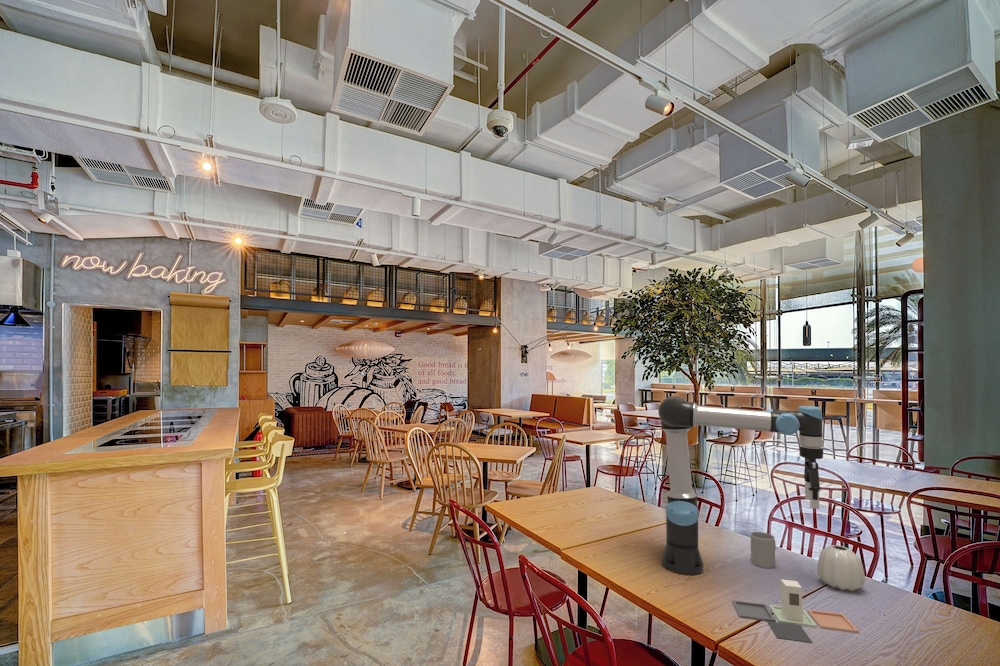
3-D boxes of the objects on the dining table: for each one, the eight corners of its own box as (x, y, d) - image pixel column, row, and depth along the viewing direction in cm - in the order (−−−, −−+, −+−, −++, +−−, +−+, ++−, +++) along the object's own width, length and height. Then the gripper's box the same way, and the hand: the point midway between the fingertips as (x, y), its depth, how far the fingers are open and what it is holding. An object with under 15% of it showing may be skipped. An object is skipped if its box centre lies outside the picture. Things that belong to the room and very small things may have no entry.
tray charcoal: (739, 618, 147) (739, 615, 147) (732, 603, 156) (732, 600, 156) (775, 623, 144) (775, 620, 144) (765, 607, 154) (765, 604, 154)
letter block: (786, 619, 146) (785, 585, 147) (781, 612, 150) (780, 579, 151) (802, 621, 145) (802, 587, 146) (797, 614, 149) (796, 581, 150)
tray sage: (779, 624, 144) (779, 620, 144) (769, 607, 154) (769, 604, 154) (816, 628, 142) (816, 625, 142) (803, 612, 151) (803, 608, 151)
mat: (777, 639, 136) (777, 637, 136) (767, 623, 144) (767, 621, 144) (812, 644, 133) (812, 642, 134) (800, 627, 142) (800, 625, 142)
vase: (852, 598, 161) (850, 557, 162) (809, 581, 174) (808, 543, 174) (873, 590, 168) (872, 551, 168) (830, 574, 180) (829, 538, 181)
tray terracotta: (820, 629, 141) (820, 625, 141) (807, 612, 151) (807, 609, 151) (859, 634, 139) (859, 631, 139) (843, 617, 149) (843, 613, 149)
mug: (766, 569, 183) (766, 540, 184) (746, 561, 190) (745, 533, 191) (785, 564, 189) (784, 535, 189) (764, 556, 196) (763, 529, 197)
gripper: (828, 453, 169) (830, 514, 168) (817, 443, 192) (818, 497, 190) (803, 451, 172) (804, 510, 171) (795, 441, 195) (796, 494, 193)
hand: (812, 503), depth 181 cm, fingers open, 13 cm apart
